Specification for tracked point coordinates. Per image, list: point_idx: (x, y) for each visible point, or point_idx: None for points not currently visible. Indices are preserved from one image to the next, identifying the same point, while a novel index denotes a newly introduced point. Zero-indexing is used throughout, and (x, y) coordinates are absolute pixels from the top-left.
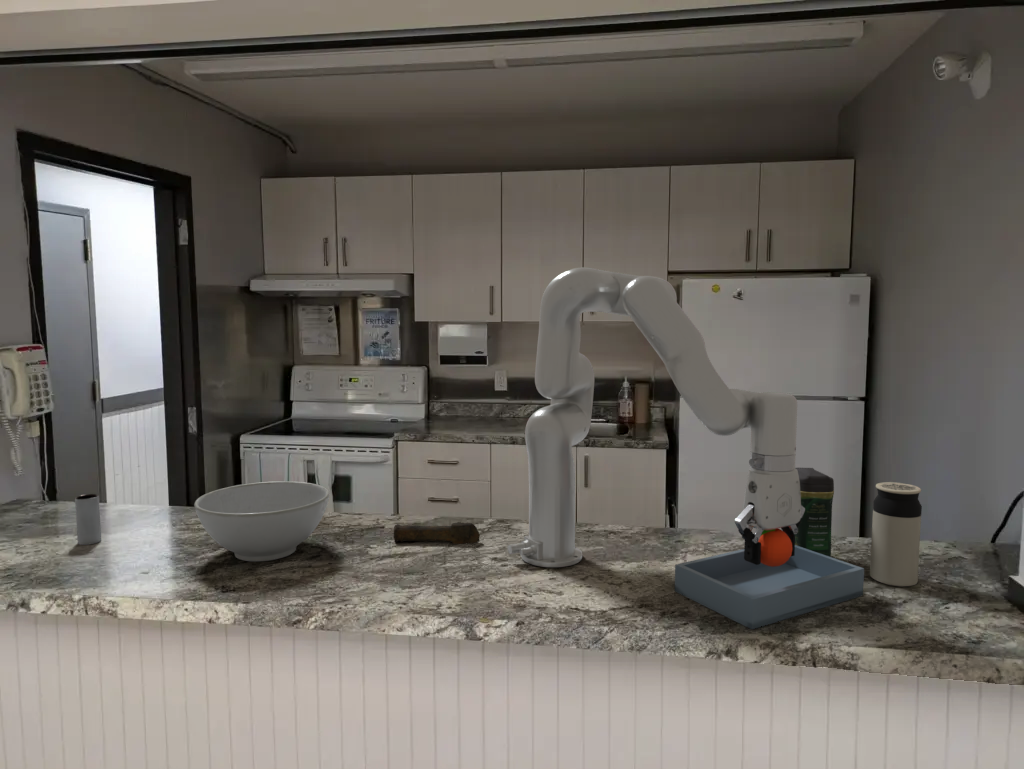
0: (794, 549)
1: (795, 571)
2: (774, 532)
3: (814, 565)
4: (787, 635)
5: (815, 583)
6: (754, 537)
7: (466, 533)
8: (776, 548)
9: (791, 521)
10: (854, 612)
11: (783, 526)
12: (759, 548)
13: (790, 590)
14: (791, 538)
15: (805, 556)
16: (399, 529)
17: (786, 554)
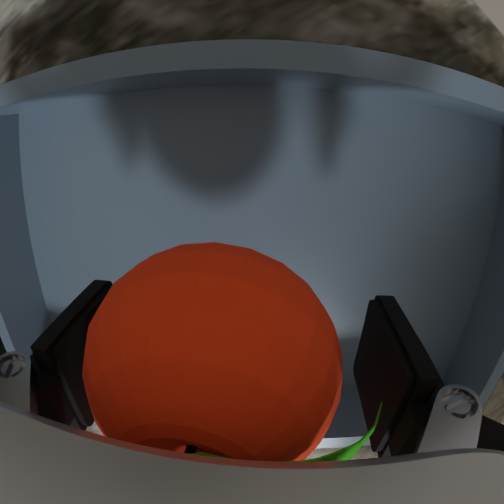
0: (80, 294)
1: (65, 299)
2: (232, 439)
3: (16, 267)
4: (463, 29)
5: (219, 42)
6: (480, 415)
7: None
8: (295, 307)
9: (21, 450)
10: (133, 9)
11: (176, 457)
12: (419, 351)
13: (410, 60)
14: (65, 344)
15: (14, 309)
16: None
17: (219, 248)
